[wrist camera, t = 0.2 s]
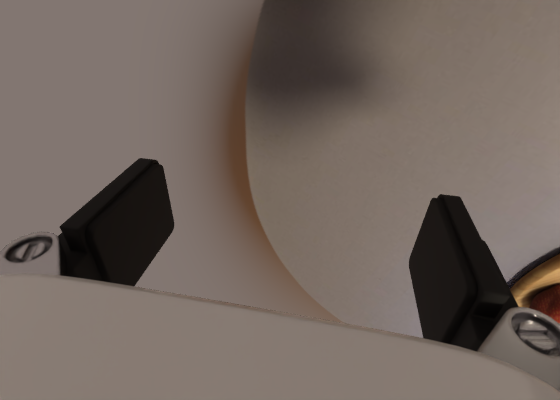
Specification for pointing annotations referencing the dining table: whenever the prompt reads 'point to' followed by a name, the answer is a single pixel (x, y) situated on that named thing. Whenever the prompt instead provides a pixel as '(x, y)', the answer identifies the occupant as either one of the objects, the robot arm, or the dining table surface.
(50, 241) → the robot arm
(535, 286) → the wooden plate
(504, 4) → the dining table surface
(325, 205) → the dining table surface
